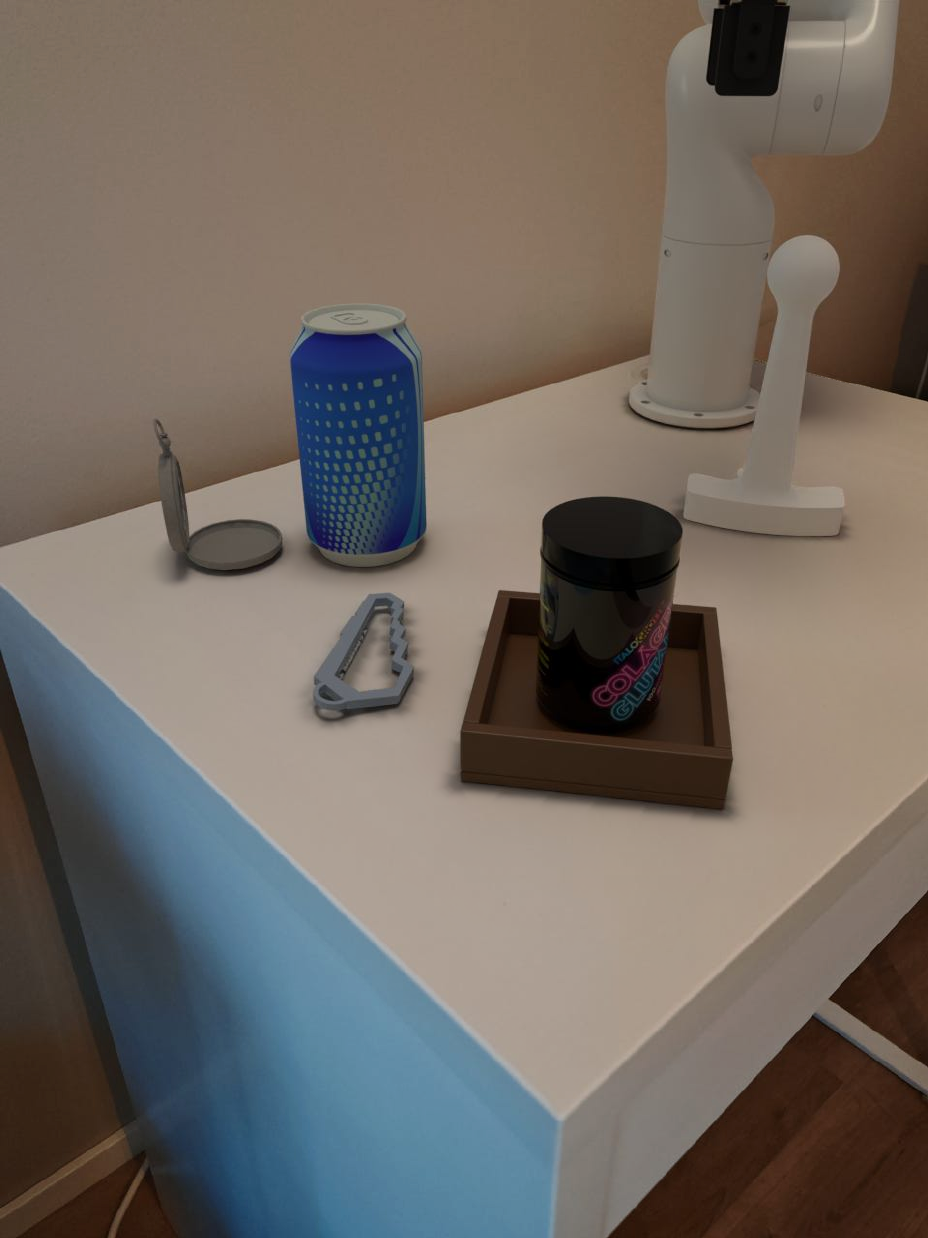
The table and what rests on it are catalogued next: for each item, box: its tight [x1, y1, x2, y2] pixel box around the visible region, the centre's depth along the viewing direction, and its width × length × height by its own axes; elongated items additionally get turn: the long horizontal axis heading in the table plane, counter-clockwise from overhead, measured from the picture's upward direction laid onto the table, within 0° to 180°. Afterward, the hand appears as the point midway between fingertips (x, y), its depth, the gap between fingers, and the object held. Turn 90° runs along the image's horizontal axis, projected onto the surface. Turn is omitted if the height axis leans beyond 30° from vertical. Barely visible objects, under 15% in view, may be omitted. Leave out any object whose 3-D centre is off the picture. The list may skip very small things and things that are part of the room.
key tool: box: [312, 592, 415, 712], centre depth 56 cm, size 12×1×5 cm
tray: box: [459, 589, 734, 810], centre depth 51 cm, size 14×13×3 cm
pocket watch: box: [153, 418, 283, 571], centre depth 65 cm, size 8×8×10 cm
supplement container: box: [536, 495, 684, 734], centre depth 49 cm, size 7×7×10 cm
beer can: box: [289, 302, 427, 568], centre depth 64 cm, size 8×8×16 cm
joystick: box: [682, 234, 846, 537], centre depth 68 cm, size 11×8×20 cm
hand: (738, 89), depth 55 cm, fingers open, 9 cm apart
